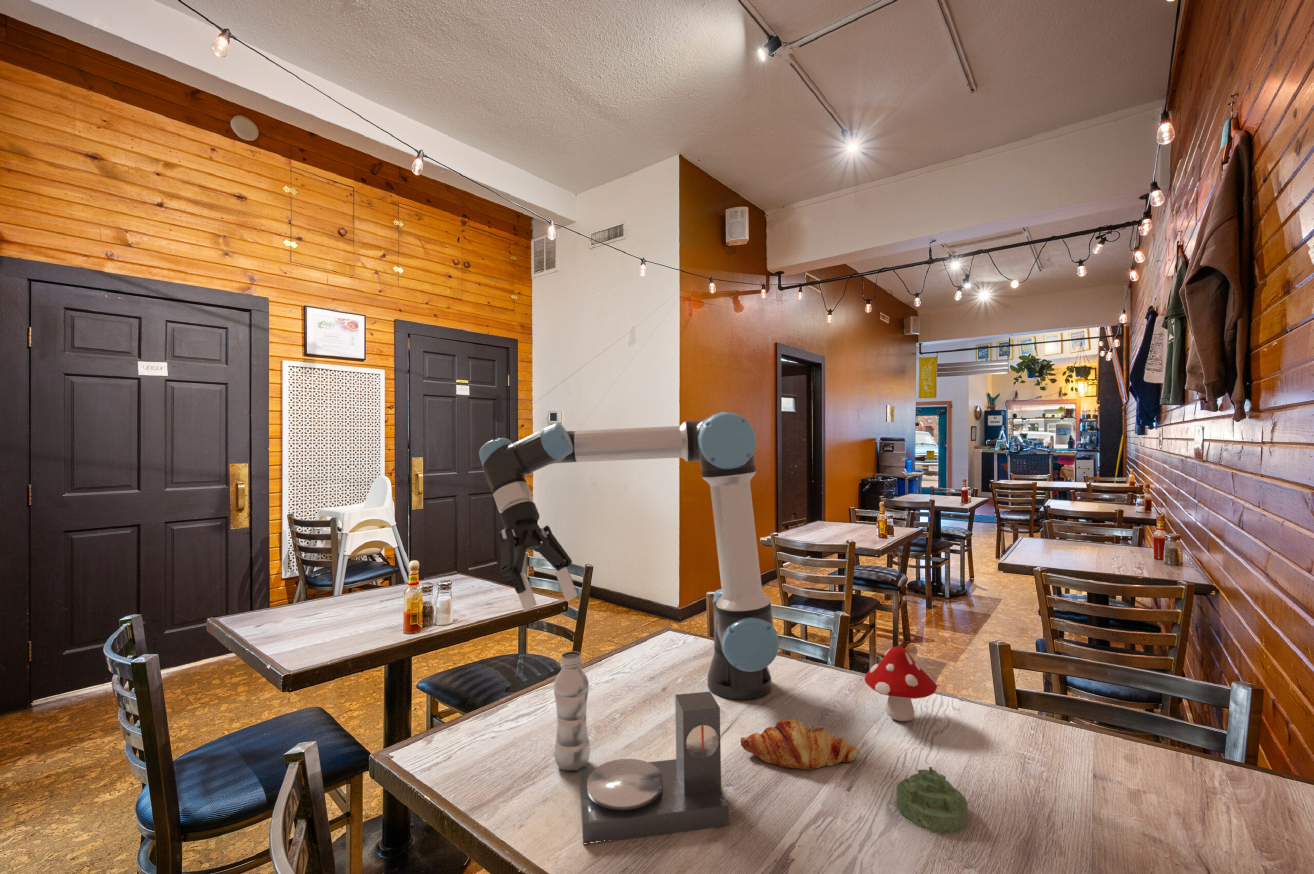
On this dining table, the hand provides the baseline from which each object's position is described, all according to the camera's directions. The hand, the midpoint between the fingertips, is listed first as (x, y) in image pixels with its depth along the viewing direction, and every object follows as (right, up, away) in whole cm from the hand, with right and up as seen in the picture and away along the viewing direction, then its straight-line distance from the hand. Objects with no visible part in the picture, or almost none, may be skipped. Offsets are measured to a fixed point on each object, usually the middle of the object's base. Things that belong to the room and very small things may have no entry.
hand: (552, 603), depth 114 cm
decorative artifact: (+64, -26, -24) cm, 73 cm away
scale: (+20, -26, -22) cm, 39 cm away
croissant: (+47, -26, -9) cm, 55 cm away
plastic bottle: (+6, -27, -10) cm, 29 cm away
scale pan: (+16, -23, -22) cm, 36 cm away
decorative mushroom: (+72, -26, +5) cm, 77 cm away
